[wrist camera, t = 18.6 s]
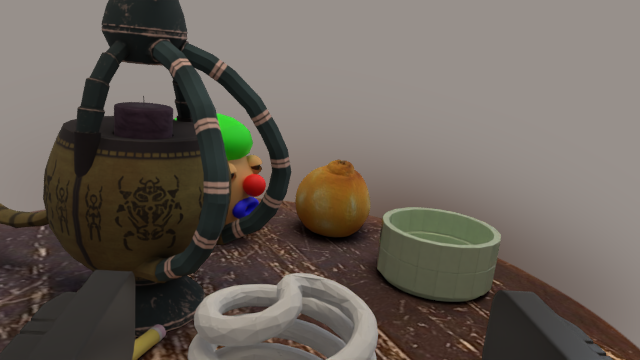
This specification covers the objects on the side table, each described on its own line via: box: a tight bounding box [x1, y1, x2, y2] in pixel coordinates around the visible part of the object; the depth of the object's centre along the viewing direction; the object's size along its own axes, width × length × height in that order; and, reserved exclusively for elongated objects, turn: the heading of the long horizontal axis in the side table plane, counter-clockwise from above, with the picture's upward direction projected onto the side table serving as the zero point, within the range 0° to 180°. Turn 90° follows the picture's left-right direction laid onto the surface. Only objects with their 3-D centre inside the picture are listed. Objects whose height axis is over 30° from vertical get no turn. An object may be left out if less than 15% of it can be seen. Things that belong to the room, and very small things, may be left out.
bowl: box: [376, 208, 501, 302], centre depth 46 cm, size 10×10×5 cm
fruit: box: [296, 160, 370, 237], centre depth 55 cm, size 8×8×8 cm
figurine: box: [174, 114, 266, 225], centre depth 51 cm, size 11×10×12 cm
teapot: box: [0, 0, 291, 337], centre depth 36 cm, size 12×25×23 cm, turn 71°
